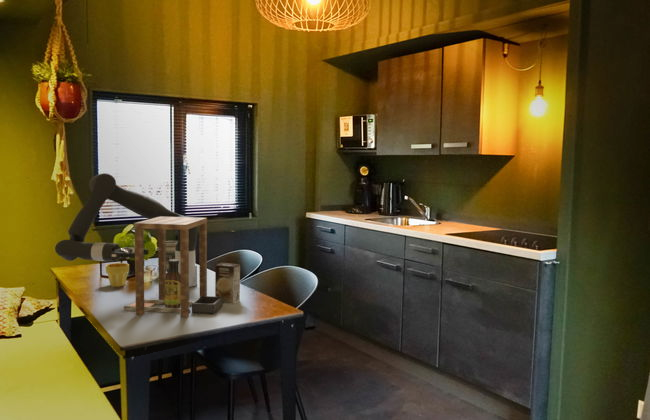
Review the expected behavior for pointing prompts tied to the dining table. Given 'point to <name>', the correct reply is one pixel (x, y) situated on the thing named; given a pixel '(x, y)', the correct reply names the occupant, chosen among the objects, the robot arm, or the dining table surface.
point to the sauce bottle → (173, 286)
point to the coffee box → (227, 282)
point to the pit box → (207, 305)
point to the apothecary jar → (170, 253)
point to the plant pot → (117, 273)
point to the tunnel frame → (162, 225)
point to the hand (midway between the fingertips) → (143, 253)
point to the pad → (144, 304)
